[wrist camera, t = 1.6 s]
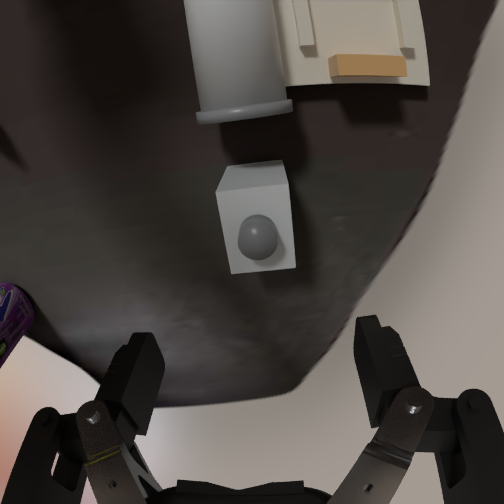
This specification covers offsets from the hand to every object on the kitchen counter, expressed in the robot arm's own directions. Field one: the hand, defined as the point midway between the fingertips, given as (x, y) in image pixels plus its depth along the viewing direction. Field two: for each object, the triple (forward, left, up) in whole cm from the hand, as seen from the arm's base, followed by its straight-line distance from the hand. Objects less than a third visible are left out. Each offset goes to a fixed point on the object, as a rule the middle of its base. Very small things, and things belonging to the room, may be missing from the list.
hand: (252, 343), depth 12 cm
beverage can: (+9, -34, -17) cm, 39 cm away
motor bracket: (-15, +6, -17) cm, 23 cm away
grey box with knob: (0, 0, -17) cm, 17 cm away
